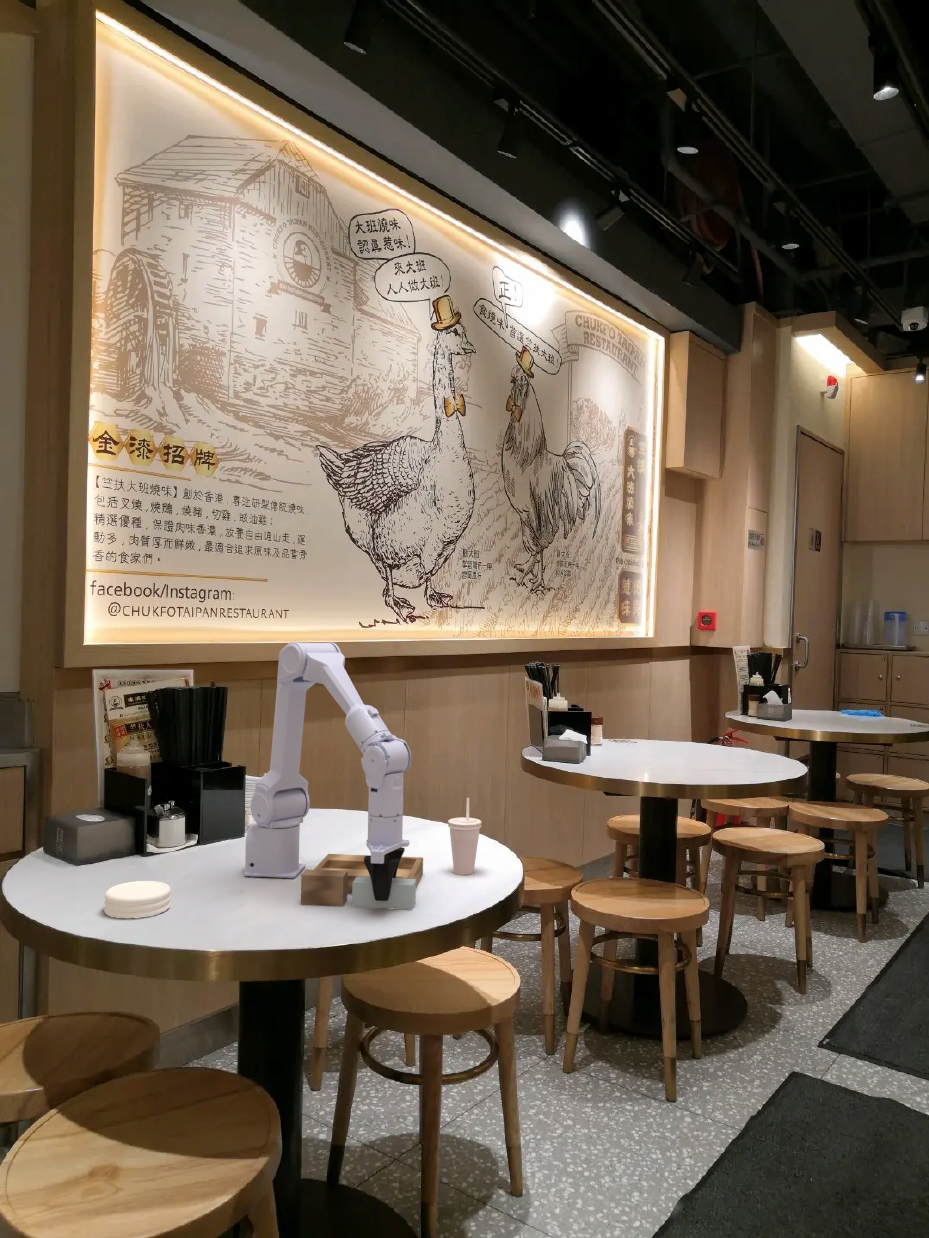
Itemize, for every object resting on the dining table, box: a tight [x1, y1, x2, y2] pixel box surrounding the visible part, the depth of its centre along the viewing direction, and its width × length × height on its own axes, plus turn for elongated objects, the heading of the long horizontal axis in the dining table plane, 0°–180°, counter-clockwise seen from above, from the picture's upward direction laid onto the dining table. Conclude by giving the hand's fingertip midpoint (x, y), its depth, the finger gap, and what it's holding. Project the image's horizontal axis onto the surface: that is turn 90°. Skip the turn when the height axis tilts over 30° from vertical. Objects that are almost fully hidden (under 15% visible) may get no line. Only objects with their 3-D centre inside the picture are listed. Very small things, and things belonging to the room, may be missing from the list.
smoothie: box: [447, 797, 482, 876], centre depth 167 cm, size 6×6×14 cm
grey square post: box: [351, 877, 417, 910], centre depth 146 cm, size 4×10×4 cm, turn 85°
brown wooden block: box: [300, 868, 348, 908], centre depth 147 cm, size 7×3×5 cm, turn 85°
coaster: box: [103, 880, 172, 918], centre depth 142 cm, size 10×10×4 cm
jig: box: [313, 853, 424, 894], centre depth 159 cm, size 18×14×3 cm
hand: (383, 896), depth 146 cm, fingers closed on grey square post, 4 cm apart
